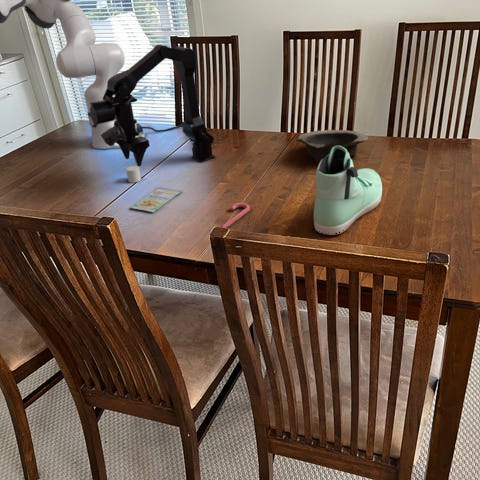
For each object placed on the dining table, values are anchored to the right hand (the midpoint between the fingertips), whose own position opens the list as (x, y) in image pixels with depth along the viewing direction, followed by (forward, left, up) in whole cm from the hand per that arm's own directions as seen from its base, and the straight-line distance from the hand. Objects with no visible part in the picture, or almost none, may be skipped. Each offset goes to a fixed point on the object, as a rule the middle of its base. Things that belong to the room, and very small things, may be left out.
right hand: (133, 162), depth 164 cm
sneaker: (-37, +64, -7) cm, 74 cm away
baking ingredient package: (+2, +19, -7) cm, 21 cm away
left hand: (+34, -41, +27) cm, 60 cm away
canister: (0, -1, -7) cm, 7 cm away
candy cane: (-9, +46, -7) cm, 47 cm away
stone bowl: (-63, +32, -7) cm, 71 cm away
